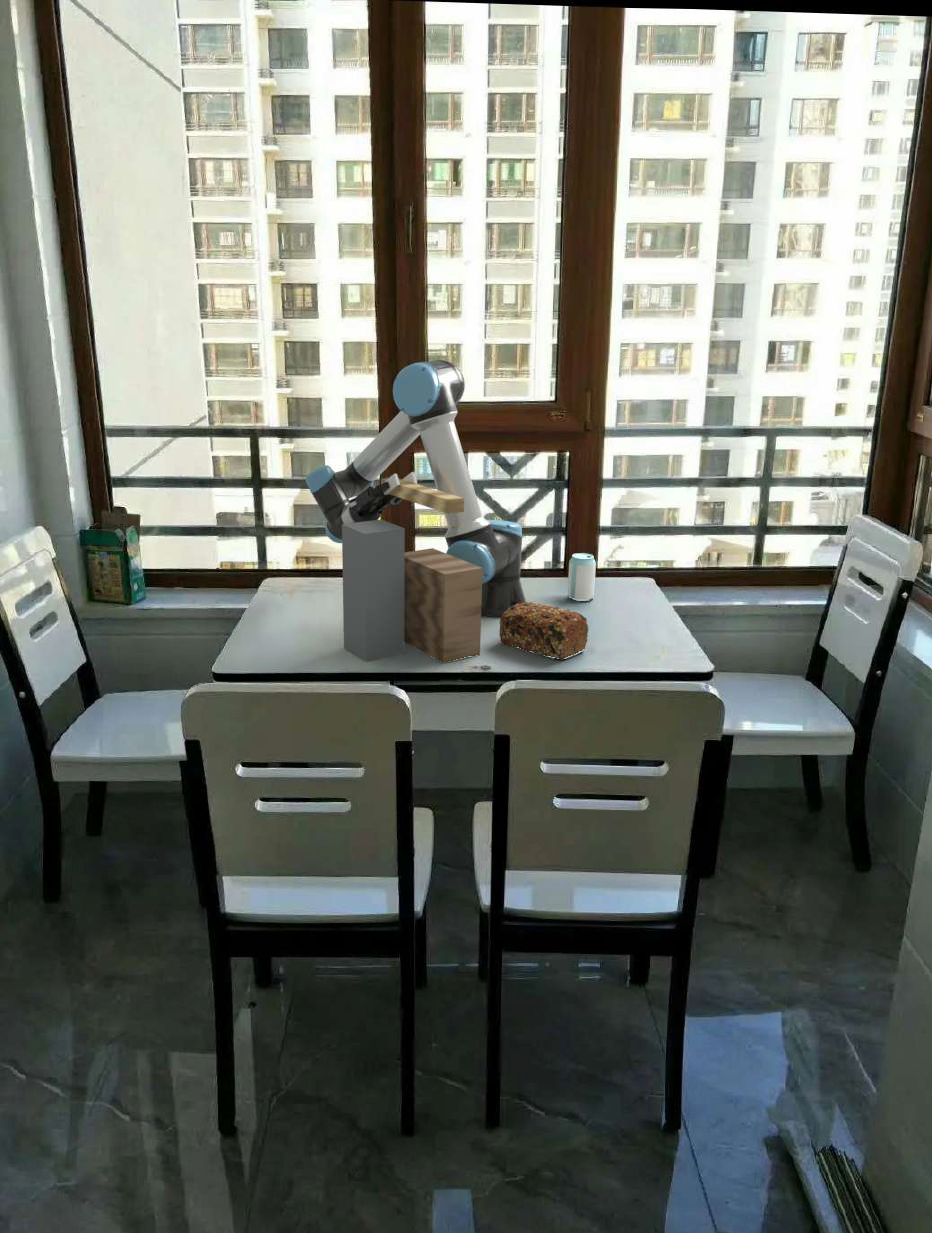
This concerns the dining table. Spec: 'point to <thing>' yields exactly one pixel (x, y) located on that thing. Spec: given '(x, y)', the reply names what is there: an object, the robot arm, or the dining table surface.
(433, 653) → the wood grain brick
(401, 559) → the stand
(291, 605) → the dining table surface
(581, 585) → the can
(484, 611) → the robot arm
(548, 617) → the bread
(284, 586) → the dining table surface
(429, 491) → the oak bar
